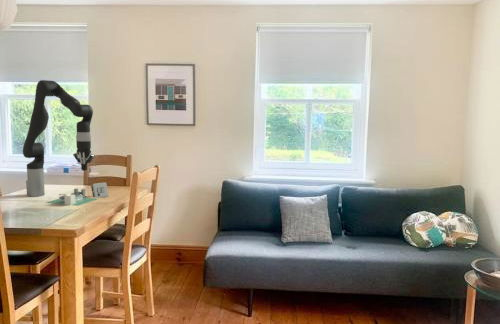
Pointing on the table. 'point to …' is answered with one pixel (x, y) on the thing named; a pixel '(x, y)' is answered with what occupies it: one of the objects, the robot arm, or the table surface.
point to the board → (76, 202)
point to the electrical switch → (99, 190)
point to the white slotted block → (77, 198)
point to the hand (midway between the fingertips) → (84, 170)
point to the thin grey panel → (71, 194)
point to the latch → (68, 198)
